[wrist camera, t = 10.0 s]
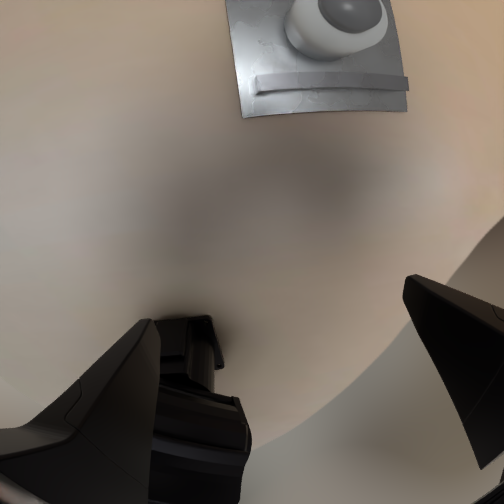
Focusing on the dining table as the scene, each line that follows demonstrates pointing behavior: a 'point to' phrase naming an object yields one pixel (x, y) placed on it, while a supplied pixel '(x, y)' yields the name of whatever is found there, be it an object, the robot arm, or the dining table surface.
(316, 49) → the grey capped cylinder
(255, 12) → the cradle
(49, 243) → the dining table surface
